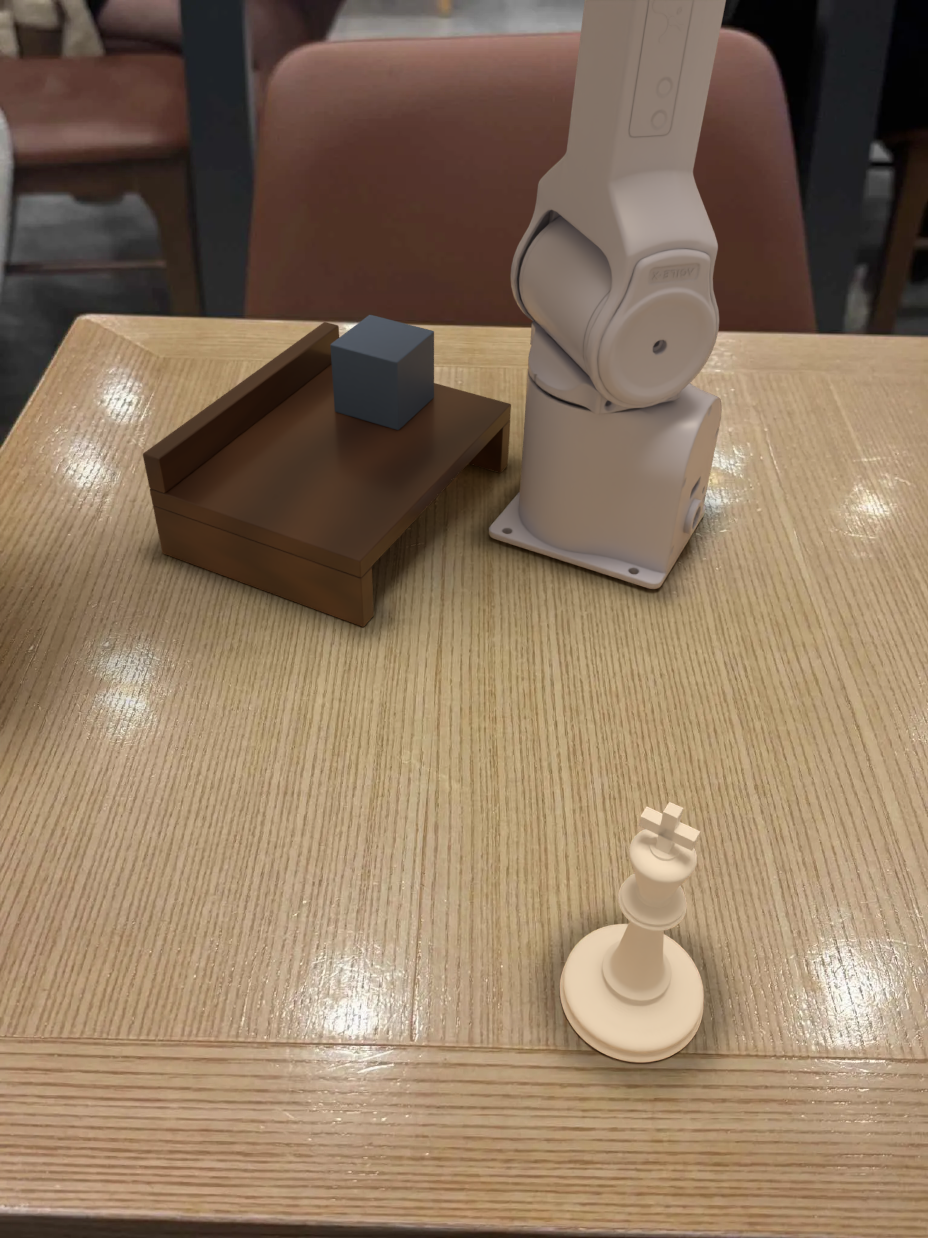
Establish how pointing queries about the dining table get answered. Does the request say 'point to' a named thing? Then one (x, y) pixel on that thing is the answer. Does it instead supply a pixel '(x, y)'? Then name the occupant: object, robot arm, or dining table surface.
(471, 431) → the shelf
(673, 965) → the chess piece
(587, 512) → the robot arm
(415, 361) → the blue box
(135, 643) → the dining table surface
